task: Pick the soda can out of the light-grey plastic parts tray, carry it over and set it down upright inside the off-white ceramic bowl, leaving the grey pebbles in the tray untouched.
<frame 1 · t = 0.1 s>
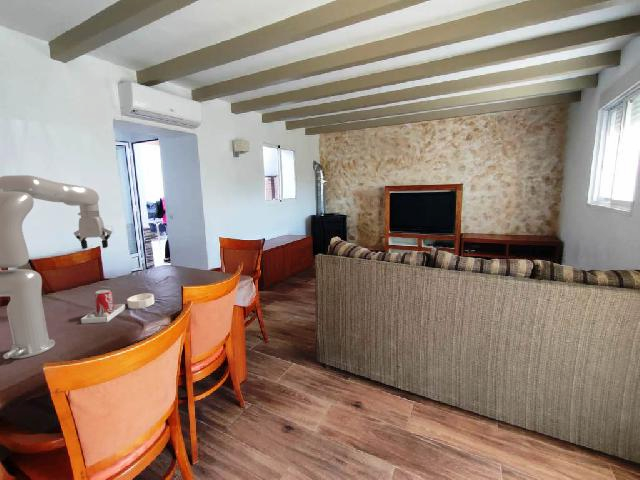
hand: (95, 248, 153), 31 cm above the table, fingers open, 9 cm apart
pebble a: (91, 320, 139), resting on parts tray
soda can: (106, 315, 145), resting on parts tray
bowl: (141, 304, 158), on the table
pebble c: (106, 311, 150), resting on parts tray
parts tray: (104, 315, 144), on the table
pebble b: (106, 319, 140), resting on parts tray
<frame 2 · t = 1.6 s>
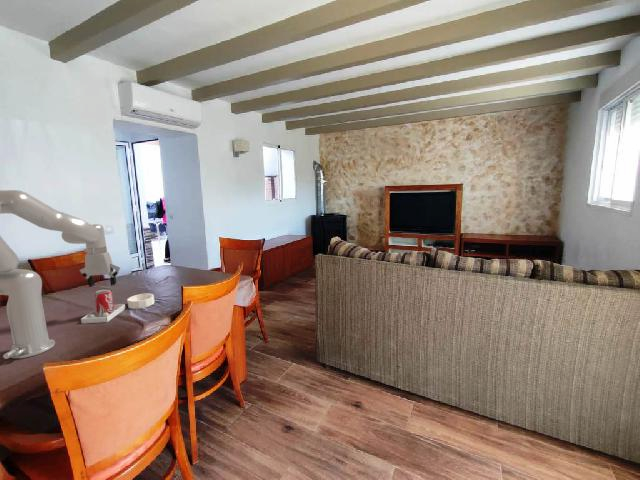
hand: (102, 285, 143), 15 cm above the table, fingers open, 9 cm apart
nothing on the table moved.
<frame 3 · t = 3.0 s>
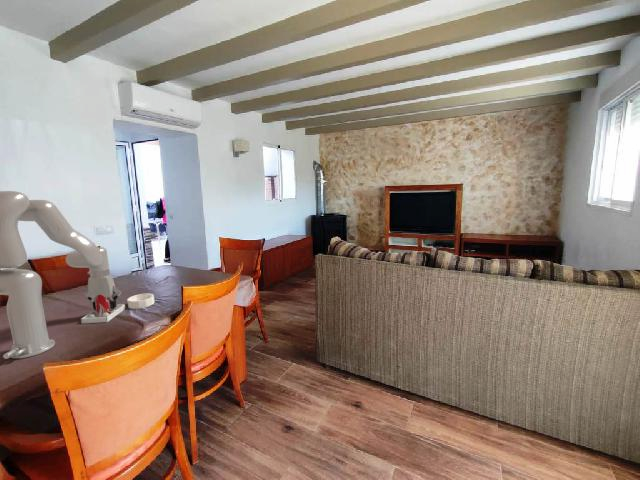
hand: (105, 308, 145), 3 cm above the table, fingers closed on soda can, 7 cm apart
soda can: (106, 315, 145), resting on parts tray, touching gripper
everything else where it was.
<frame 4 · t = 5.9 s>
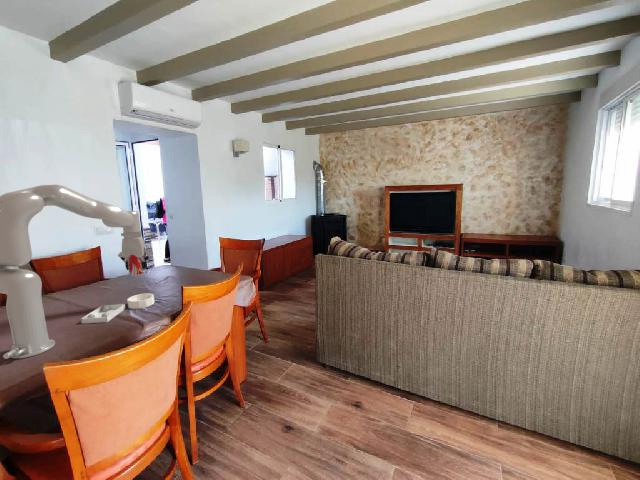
hand: (136, 268, 155), 20 cm above the table, fingers closed on soda can, 7 cm apart
soda can: (137, 275, 155), point 16 cm above the table, touching gripper
everything else where it was.
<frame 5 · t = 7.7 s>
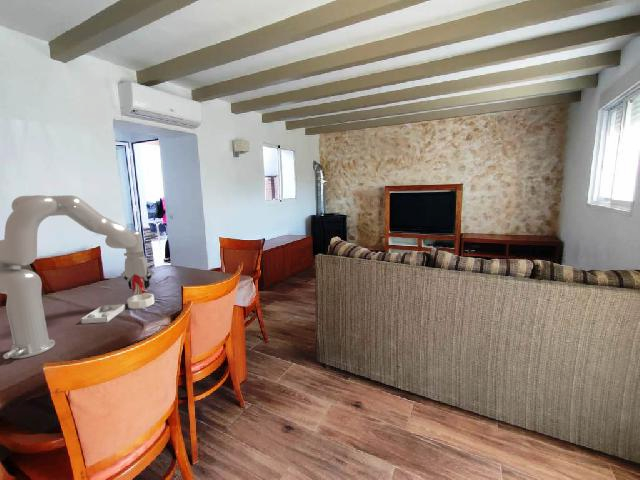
hand: (139, 287, 157), 9 cm above the table, fingers closed on soda can, 7 cm apart
soda can: (140, 293, 157), point 6 cm above the table, touching gripper
everything else where it was.
when the fingers open (6 cm above the table, at t = 9.1 s): soda can drops 2 cm, resting on bowl.
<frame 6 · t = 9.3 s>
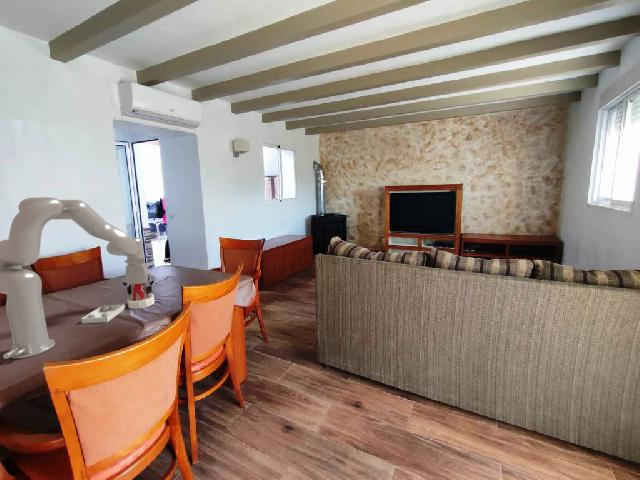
hand: (140, 293, 157), 6 cm above the table, fingers open, 9 cm apart
soda can: (141, 303, 158), resting on bowl
everything else where it was.
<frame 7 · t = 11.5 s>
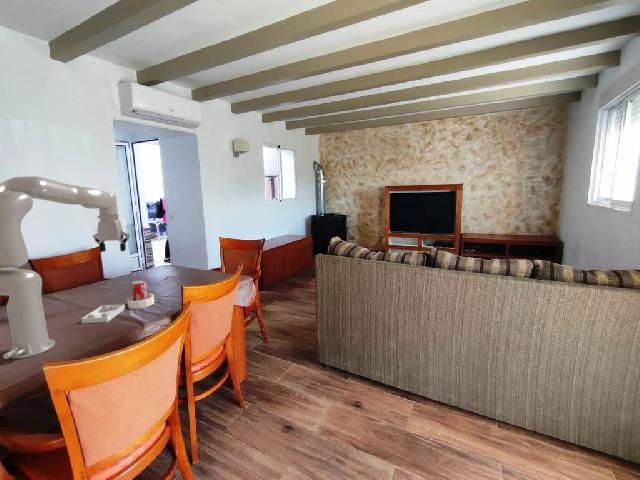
hand: (113, 251, 152), 29 cm above the table, fingers open, 9 cm apart
nothing on the table moved.
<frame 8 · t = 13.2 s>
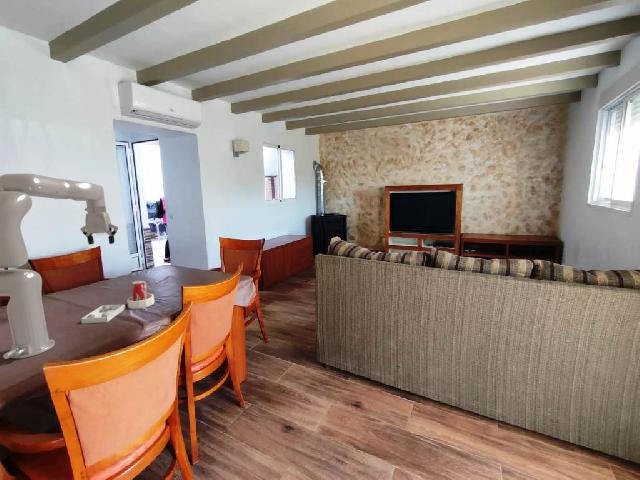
hand: (101, 243, 152), 33 cm above the table, fingers open, 9 cm apart
nothing on the table moved.
at the end: soda can inside the target area on the bowl (0.2 cm from its centre), point 0.4 cm above the bowl's base; soda can tilted 0°; the gripper is holding nothing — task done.
